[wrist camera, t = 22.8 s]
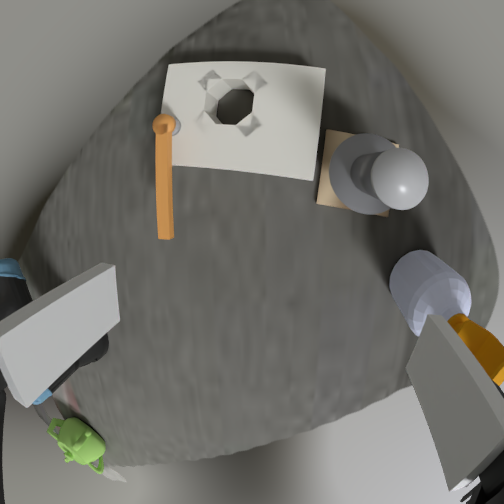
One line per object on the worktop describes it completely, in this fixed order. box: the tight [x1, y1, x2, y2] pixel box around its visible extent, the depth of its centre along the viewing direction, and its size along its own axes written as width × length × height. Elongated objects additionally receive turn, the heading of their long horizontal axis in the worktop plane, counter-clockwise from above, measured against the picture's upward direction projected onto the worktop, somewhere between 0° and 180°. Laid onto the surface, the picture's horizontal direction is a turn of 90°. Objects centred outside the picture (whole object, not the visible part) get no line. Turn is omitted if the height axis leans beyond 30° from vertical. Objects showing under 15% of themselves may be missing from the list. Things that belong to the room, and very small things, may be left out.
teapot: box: [47, 417, 105, 474], centre depth 64 cm, size 19×20×14 cm
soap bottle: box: [389, 250, 504, 386], centre depth 25 cm, size 9×9×25 cm
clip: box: [153, 114, 176, 239], centre depth 32 cm, size 15×3×1 cm, turn 179°
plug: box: [329, 133, 429, 214], centre depth 26 cm, size 9×9×17 cm
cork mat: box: [316, 129, 399, 217], centre depth 34 cm, size 10×10×1 cm
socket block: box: [155, 61, 326, 181], centre depth 32 cm, size 20×14×6 cm
